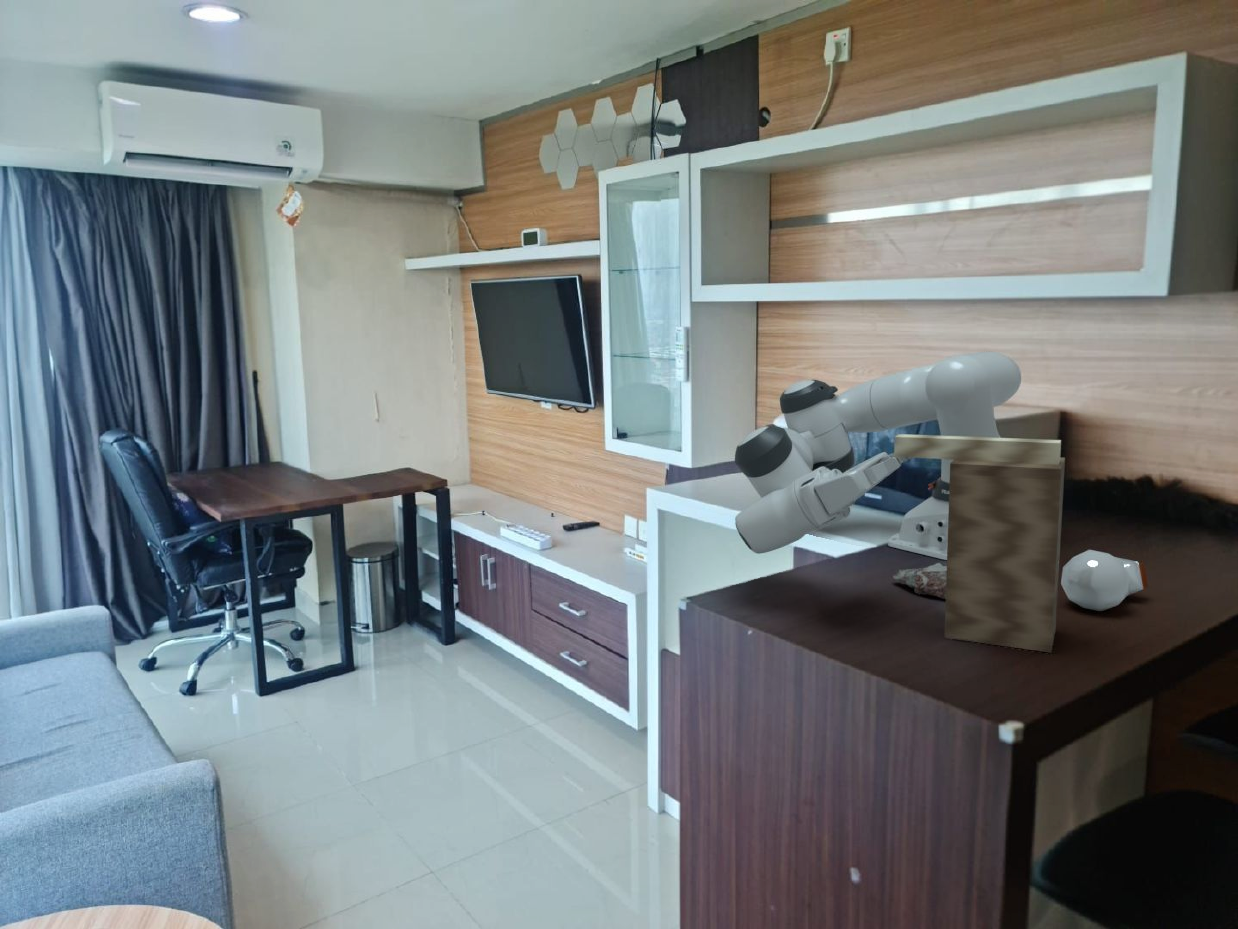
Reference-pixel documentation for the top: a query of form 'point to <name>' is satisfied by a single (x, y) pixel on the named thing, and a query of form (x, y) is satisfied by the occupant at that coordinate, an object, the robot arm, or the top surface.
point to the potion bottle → (1101, 579)
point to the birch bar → (978, 448)
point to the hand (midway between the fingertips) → (905, 456)
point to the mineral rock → (925, 579)
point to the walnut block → (1004, 552)
